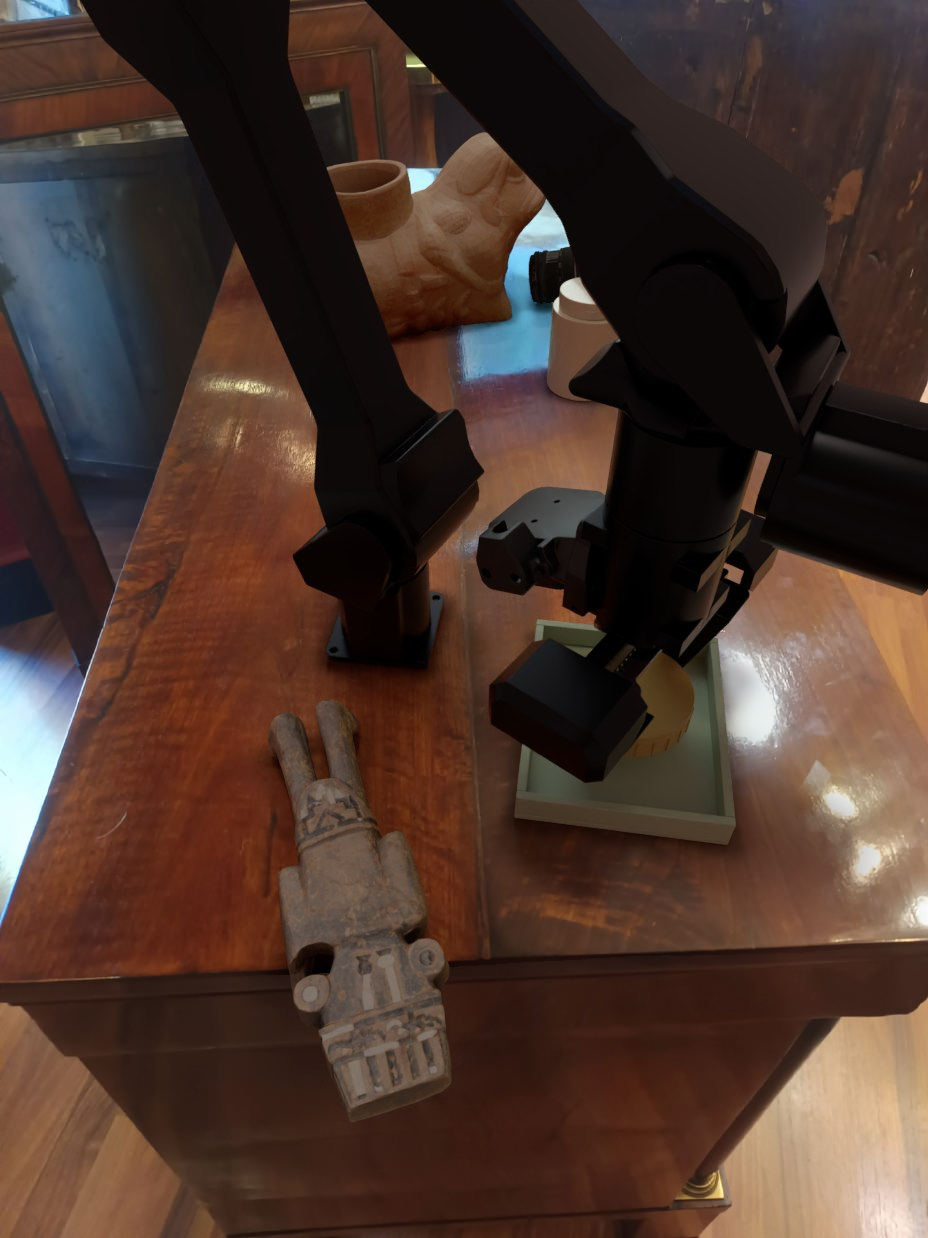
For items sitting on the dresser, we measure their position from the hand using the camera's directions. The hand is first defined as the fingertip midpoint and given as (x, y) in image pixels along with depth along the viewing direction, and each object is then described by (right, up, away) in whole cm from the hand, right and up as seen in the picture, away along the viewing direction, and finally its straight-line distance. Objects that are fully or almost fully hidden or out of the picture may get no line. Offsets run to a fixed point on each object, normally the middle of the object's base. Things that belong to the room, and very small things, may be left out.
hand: (622, 721), depth 47 cm
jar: (+2, +27, +28) cm, 39 cm away
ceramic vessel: (-13, +38, +39) cm, 56 cm away
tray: (0, -1, +1) cm, 1 cm away
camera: (+3, +39, +40) cm, 56 cm away
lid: (0, +2, -2) cm, 3 cm away
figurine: (-15, -5, -10) cm, 18 cm away
